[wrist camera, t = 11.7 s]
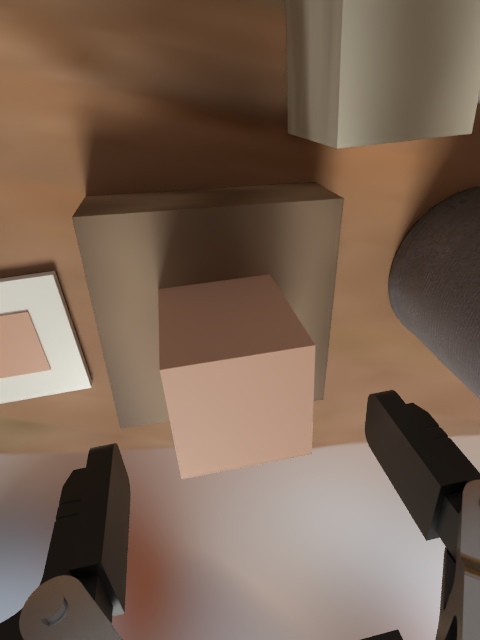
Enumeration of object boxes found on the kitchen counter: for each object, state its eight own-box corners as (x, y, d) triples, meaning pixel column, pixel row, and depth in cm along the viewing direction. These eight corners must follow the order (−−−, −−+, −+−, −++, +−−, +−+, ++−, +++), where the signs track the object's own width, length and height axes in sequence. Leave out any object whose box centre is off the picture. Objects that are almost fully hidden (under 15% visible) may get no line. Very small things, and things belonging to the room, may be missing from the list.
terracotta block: (174, 380, 20) (181, 479, 15) (157, 289, 18) (159, 370, 12) (272, 364, 21) (311, 453, 16) (270, 274, 18) (315, 345, 13)
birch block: (287, 133, 19) (337, 148, 14) (285, -2, 16) (344, -45, 11) (388, 122, 20) (471, 133, 14) (400, -10, 17) (507, -54, 12)
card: (-36, 404, 23) (-41, 411, 22) (-98, 292, 19) (-105, 298, 19) (92, 382, 24) (91, 388, 23) (55, 270, 20) (52, 275, 20)
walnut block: (125, 381, 24) (120, 428, 21) (86, 194, 19) (71, 217, 16) (301, 358, 26) (323, 399, 23) (312, 180, 21) (343, 198, 17)
